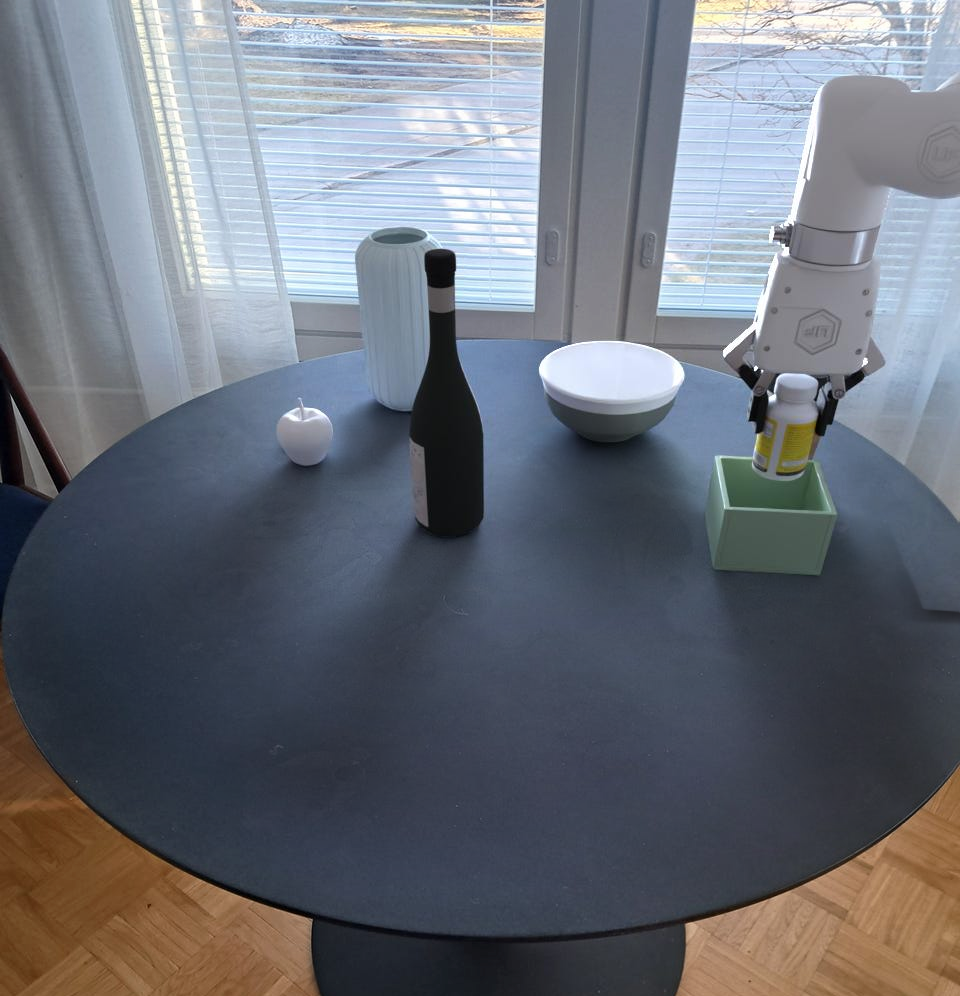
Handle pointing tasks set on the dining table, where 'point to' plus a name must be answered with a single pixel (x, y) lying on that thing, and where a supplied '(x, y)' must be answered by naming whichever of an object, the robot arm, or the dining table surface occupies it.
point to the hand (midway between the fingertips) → (787, 427)
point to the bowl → (610, 388)
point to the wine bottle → (445, 420)
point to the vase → (394, 312)
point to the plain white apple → (305, 435)
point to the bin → (768, 519)
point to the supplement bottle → (787, 429)
